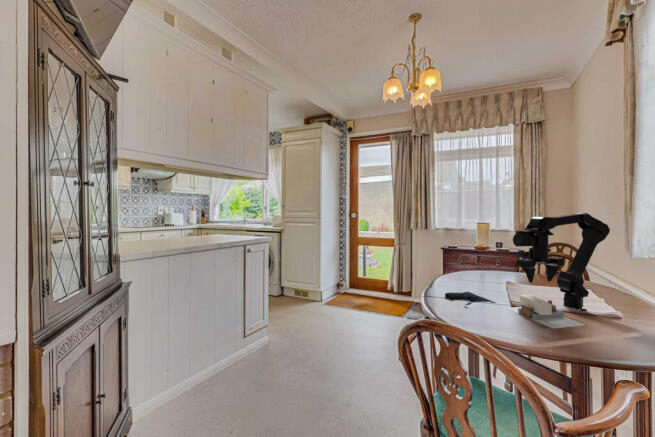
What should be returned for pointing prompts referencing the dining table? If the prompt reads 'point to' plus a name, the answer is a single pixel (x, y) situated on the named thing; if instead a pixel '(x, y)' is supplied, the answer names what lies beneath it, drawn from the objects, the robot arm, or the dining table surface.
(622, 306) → the dining table surface
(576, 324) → the jig board
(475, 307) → the dining table surface
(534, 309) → the long cream prism
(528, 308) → the brown box with tab
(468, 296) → the gun
